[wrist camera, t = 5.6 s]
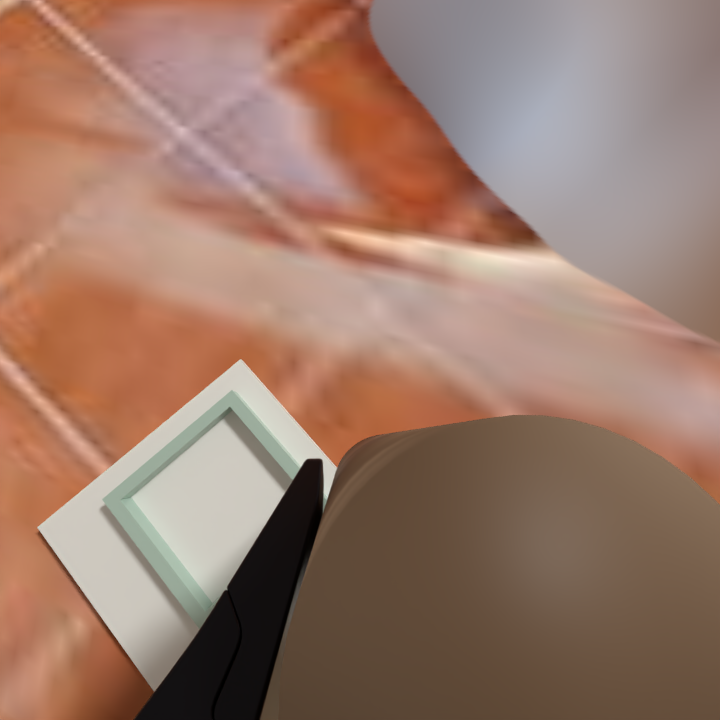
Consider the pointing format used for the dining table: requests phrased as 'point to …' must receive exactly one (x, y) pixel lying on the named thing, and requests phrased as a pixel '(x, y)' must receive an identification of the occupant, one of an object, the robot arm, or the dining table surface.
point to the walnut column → (508, 581)
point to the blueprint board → (181, 516)
